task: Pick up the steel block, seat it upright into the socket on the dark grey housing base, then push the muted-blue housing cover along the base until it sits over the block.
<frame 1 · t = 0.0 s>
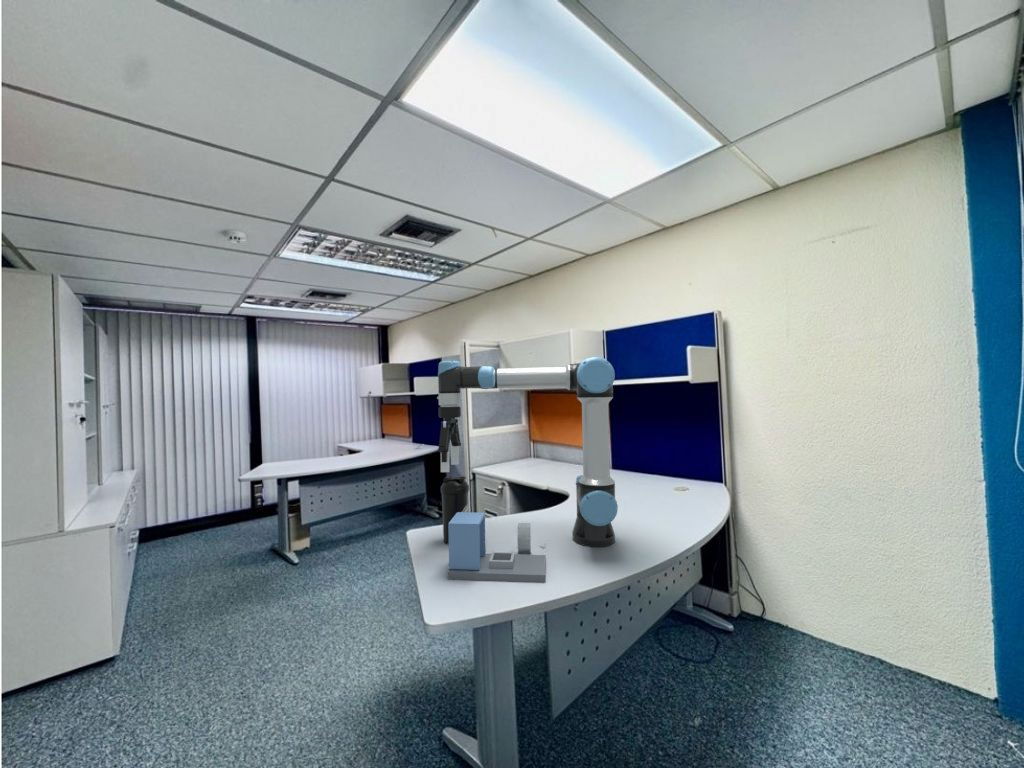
hand: (450, 468, 136), 28 cm above the table, fingers open, 13 cm apart
housing base: (499, 569, 120), on the table
steel block: (524, 555, 130), on the table
water bottle: (455, 541, 145), on the table
housing cover: (467, 539, 121), point 9 cm above the table, slide at 0.0 cm
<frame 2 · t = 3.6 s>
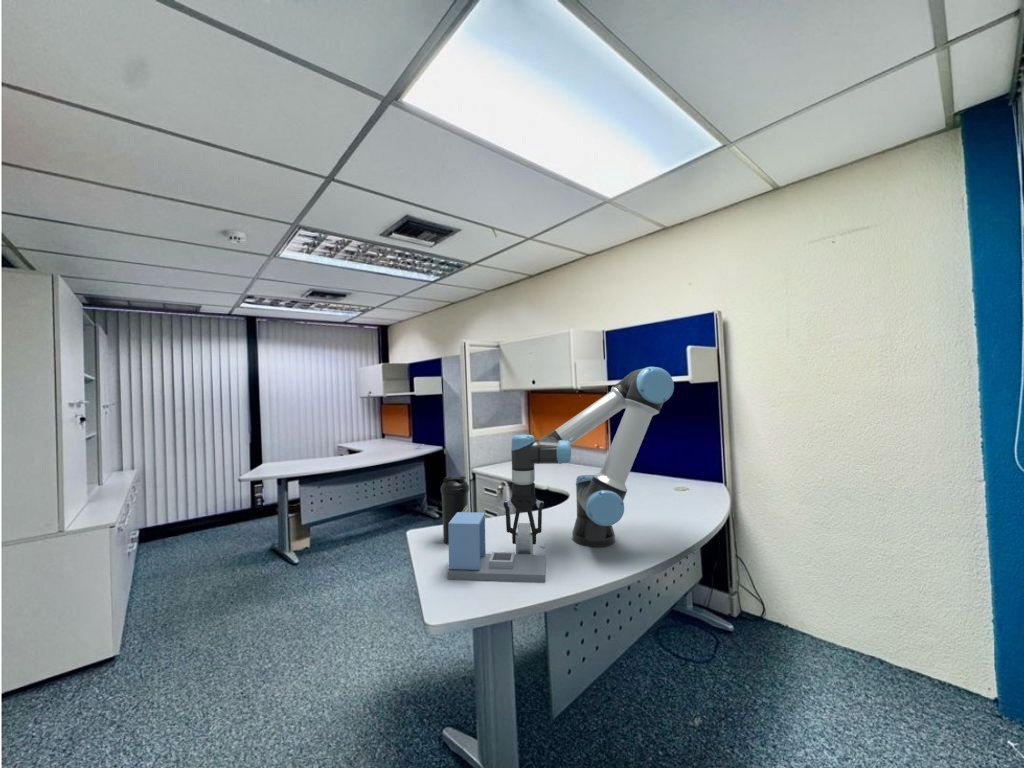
hand: (524, 553, 130), 1 cm above the table, fingers closed on steel block, 4 cm apart
steel block: (524, 555, 130), on the table, touching gripper
everything else where it was.
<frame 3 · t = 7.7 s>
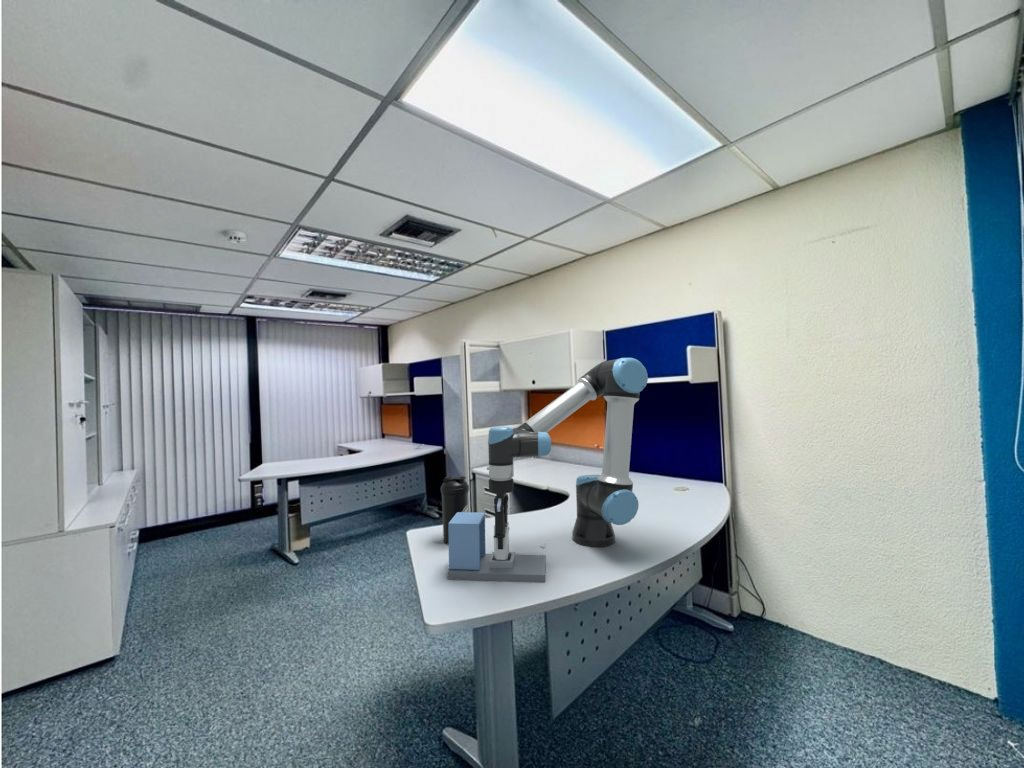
hand: (501, 555, 120), 4 cm above the table, fingers closed on steel block, 4 cm apart
steel block: (501, 557, 120), point 4 cm above the table, touching gripper
everything else where it was.
when the fingers open (4 cm above the table, at t = 9.2 s): steel block drops 2 cm, resting on housing base.
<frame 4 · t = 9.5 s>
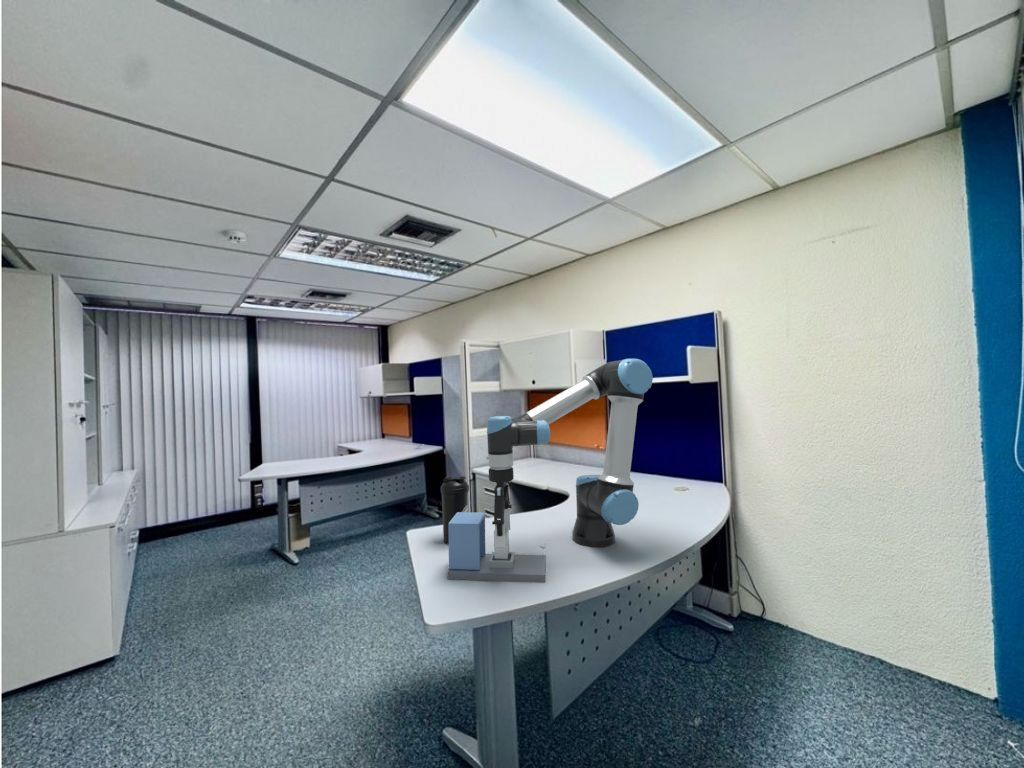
hand: (503, 537, 120), 10 cm above the table, fingers open, 13 cm apart
steel block: (501, 563, 120), point 2 cm above the table, touching housing base
everything else where it was.
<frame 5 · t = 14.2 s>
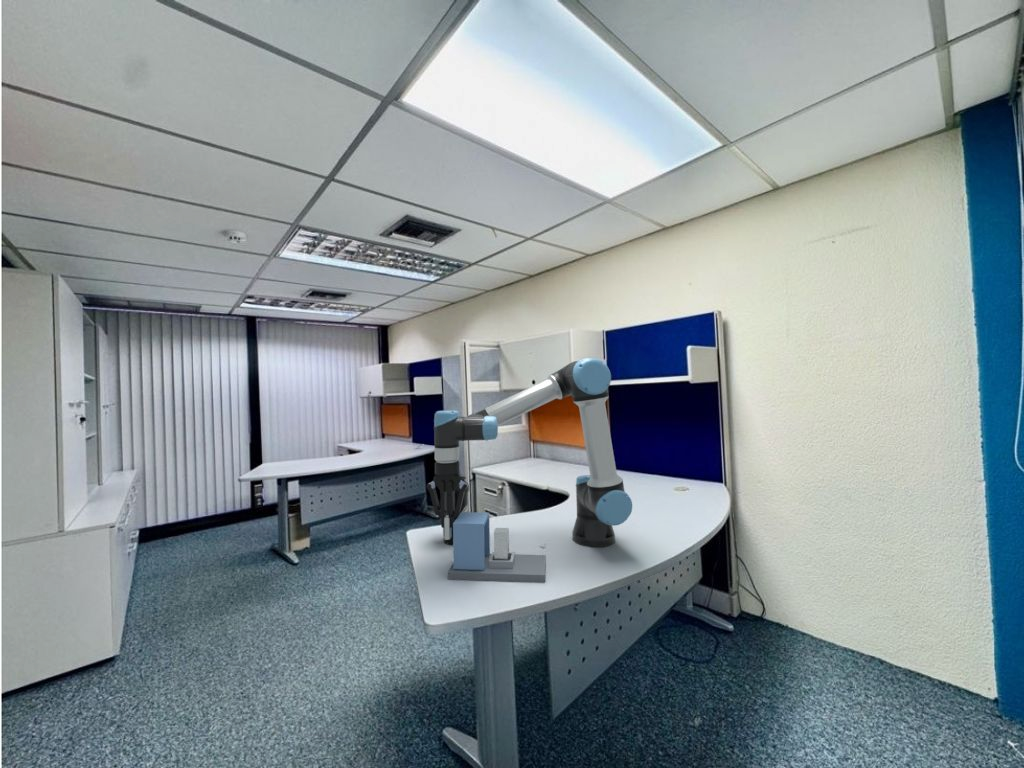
hand: (448, 538, 122), 9 cm above the table, fingers closed
housing cover: (472, 539, 121), point 9 cm above the table, slide at 1.4 cm, touching gripper
everything else where it was.
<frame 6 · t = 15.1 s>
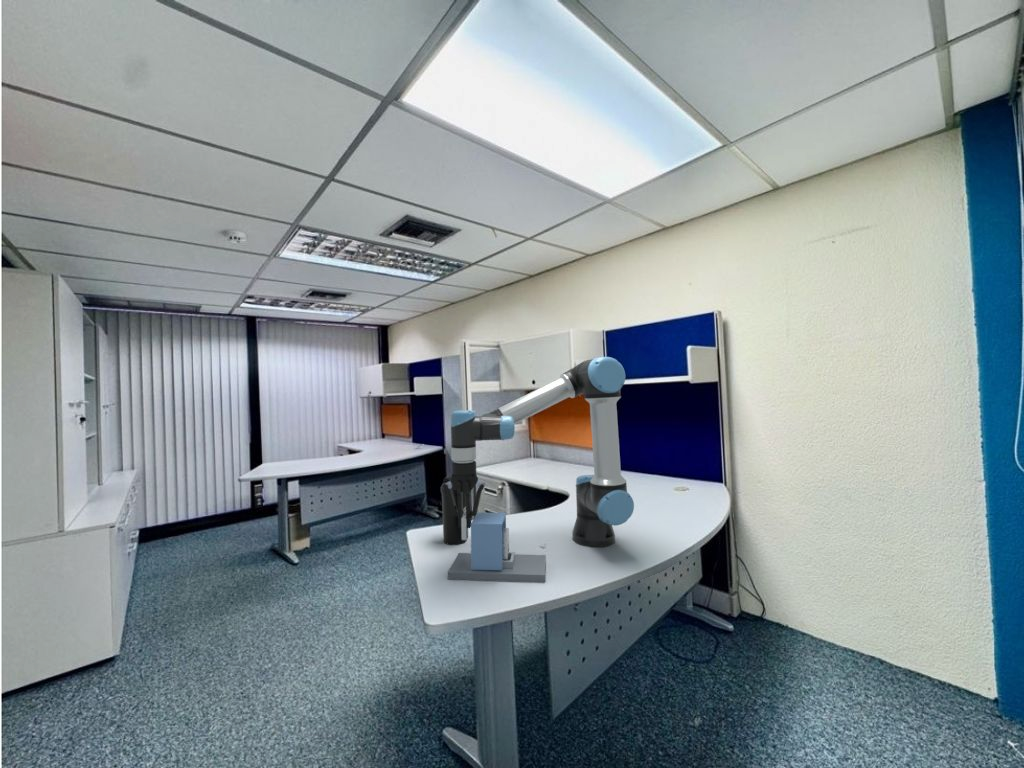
hand: (465, 538, 121), 9 cm above the table, fingers closed
housing cover: (489, 540, 120), point 9 cm above the table, slide at 6.7 cm, touching gripper
everything else where it was.
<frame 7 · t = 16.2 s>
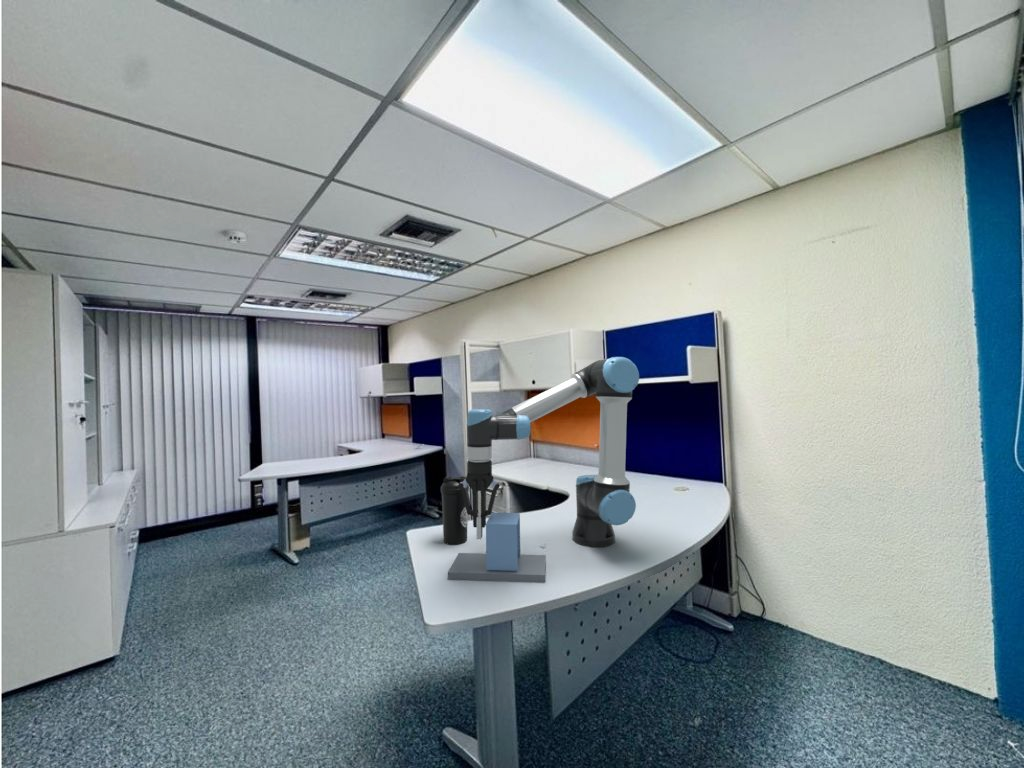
hand: (479, 537, 121), 9 cm above the table, fingers closed
housing cover: (503, 540, 120), point 9 cm above the table, slide at 11.1 cm, touching gripper
everything else where it was.
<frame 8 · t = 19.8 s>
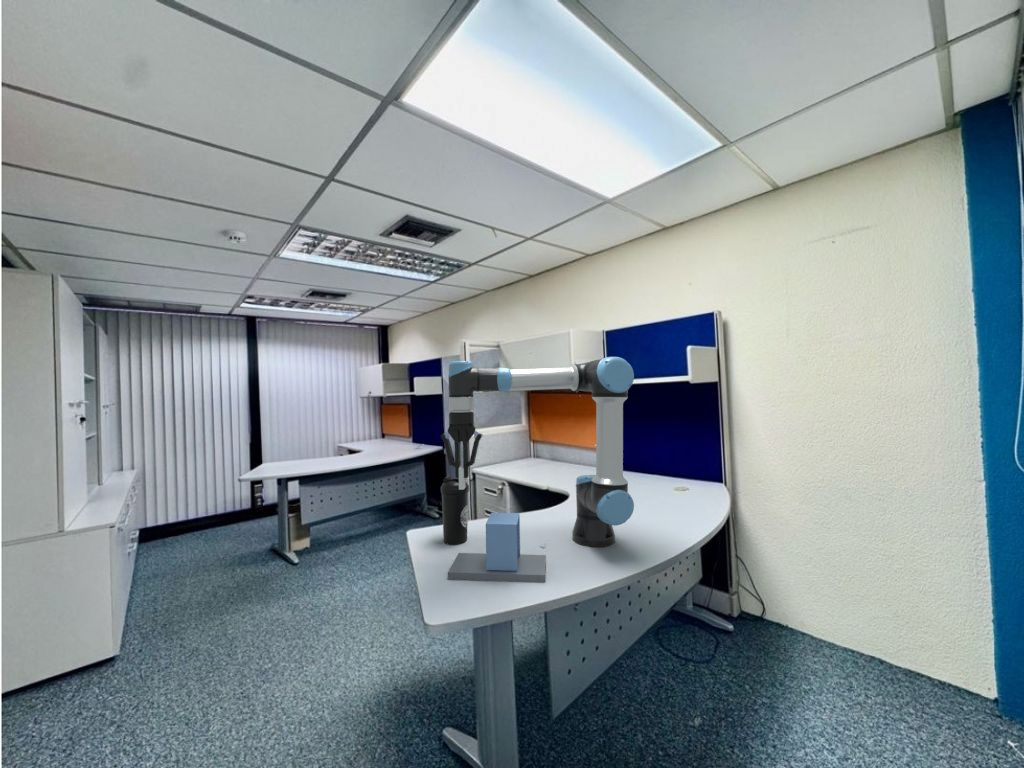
hand: (462, 488, 122), 24 cm above the table, fingers closed
housing cover: (503, 540, 120), point 9 cm above the table, slide at 11.0 cm
everything else where it was.
at the end: steel block 0.1 cm from the target spot on the housing base, point 2.0 cm above the housing base's base; steel block tilted 0°; housing cover slide at 11.0 cm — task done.
